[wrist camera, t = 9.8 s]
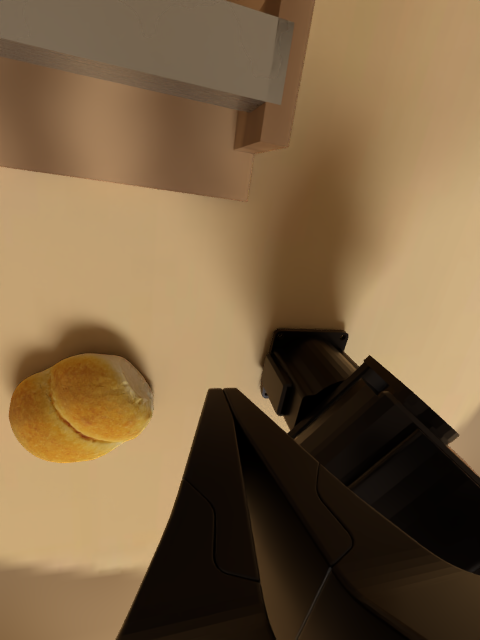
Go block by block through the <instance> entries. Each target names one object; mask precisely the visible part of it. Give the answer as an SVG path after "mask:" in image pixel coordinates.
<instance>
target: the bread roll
mask: <svg viewBox="0 0 480 640" xmlns="http://www.w3.org/2000/svg"><path fill="white" fill-rule="evenodd" d="M153 410H154V406H153V392H152V390H151V388H150V387H149V385H148V384H147V382H146V381H145V379H144V377H143V376H142V375H141V373H140V372H139V371H138V370H137V369H136V368H135V367H134V366H133V365H132V364H131V363H130V362H129V361H127V360H126V359H125V358H123V357H120V356H116V355H107V354H94V353H84V354H79V355H75V356H72V357H69V358H66V359H63V360H61V361H60V362H58V363H57V364H55V365H54V366H52V367H50V368H48V369H46V370H44V371H42V372H39V373H36V374H34V375H31V376H30V377H28V378H26V379H25V380H23V381H22V382H21V383H20V384H19V385H18V386H17V388H16V389H15V391H14V393H13V395H12V398H11V403H10V410H9V420H10V424H11V427H12V430H13V432H14V434H15V436H16V438H17V440H18V441H19V442H20V443H21V445H22V446H23V447H24V448H25V449H26V450H27V451H29V452H30V453H32V454H33V455H34V456H36V457H38V458H41V459H43V460H46V461H50V462H57V463H71V462H80V461H88V460H93V459H96V458H98V457H101V456H103V455H105V454H107V453H108V452H110V451H112V450H113V449H115V448H116V447H118V446H119V445H121V444H122V443H123V442H125V441H129V440H131V439H134V438H136V437H137V436H138V435H139V434H140V433H141V432H142V431H143V430H144V429H145V427H146V426H147V425H148V423H149V422H150V420H151V417H152V413H153Z"/></svg>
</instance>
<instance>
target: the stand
mask: <svg viewBox="0 0 480 640" xmlns="http://www.w3.org/2000/svg"><path fill="white" fill-rule="evenodd" d="M226 1H229V2H232V3H235V4H238V5H242V6H245V7H248V8H251V9H254V10H257V11H260V12H263V13H266V14H269V15H273V16H276V17H279V19H280V18H282V19H284V21H285V20H286V22H287V23H288V21H291V23H290V24H289V26H290V25H291V24H292V22H294V26H292V28H293V27H294V29H293V32H292V33H293V35H291V36H292V41H291V40H290V41H291V47H290V53H289V59H288V65H287V71H286V78H285V84H284V90H283V96H282V102H281V105H278V104H274V103H270V102H265V103H263V104H262V105H261V106H259V107H258V108H256V109H255V110H253V111H252V112H251V113H248V112H244V111H239V110H235V109H230V108H226V107H221V106H217V105H213V104H208V103H204V102H199V101H195V100H190V99H186V98H182V97H177V96H173V95H168V94H164V93H159V92H155V91H151V90H146V89H142V88H137V87H133V86H128V85H124V84H120V83H115V82H111V81H106V80H102V79H97V78H93V77H89V76H84V75H80V74H75V73H71V72H66V71H62V70H58V69H53V68H49V67H44V66H40V65H35V64H31V63H27V62H22V61H18V60H13V59H9V58H4V57H0V167H7V168H14V169H21V170H28V171H35V172H42V173H49V174H56V175H63V176H70V177H77V178H84V179H91V180H98V181H105V182H112V183H119V184H126V185H133V186H140V187H147V188H154V189H161V190H168V191H175V192H182V193H189V194H196V195H203V196H210V197H217V198H224V199H231V200H238V201H245V202H247V201H248V194H249V187H250V180H251V172H252V165H253V158H254V154H257V153H262V152H267V151H271V150H276V149H281V148H286V147H288V146H289V140H290V135H291V129H292V124H293V119H294V113H295V108H296V102H297V97H298V91H299V86H300V80H301V75H302V69H303V64H304V58H305V53H306V47H307V42H308V37H309V31H310V26H311V20H312V15H313V9H314V4H315V0H226ZM279 19H278V21H279V22H280V20H279ZM287 20H288V21H287ZM282 21H283V20H282ZM279 22H278V26H279ZM285 24H286V23H285ZM281 25H283V24H282V23H281ZM281 25H280V26H281ZM283 26H284V25H283ZM277 28H279V27H277ZM281 28H282V27H281ZM289 28H290V27H289ZM284 29H285V28H284ZM278 30H279V29H278ZM278 30H277V31H278ZM281 30H282V29H281ZM286 30H287V29H286ZM282 32H284V31H282ZM286 32H287V31H286ZM278 33H279V32H278ZM278 33H277V34H278ZM280 33H281V32H280ZM280 36H281V35H280ZM281 37H283V36H281ZM276 38H277V37H276ZM282 39H283V38H282ZM282 39H281V40H282ZM279 40H280V39H279ZM277 43H278V42H277ZM288 43H289V42H288ZM278 44H279V43H278ZM286 44H287V43H286ZM281 45H282V44H281ZM279 46H280V45H279ZM280 49H281V48H280ZM274 50H275V49H274ZM285 50H286V49H285ZM285 53H286V52H285ZM285 53H284V54H285ZM287 56H288V55H287Z"/></svg>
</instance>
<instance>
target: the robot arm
mask: <svg viewBox="0 0 480 640" xmlns="http://www.w3.org/2000/svg"><path fill="white" fill-rule="evenodd" d="M279 334H282V335H281V336H280V337H278V335H279ZM342 335H343V337H341V336H342ZM340 337H341V338H340ZM347 340H348V334H347V333H346V332H345V331H344V330H317V329H277V330H275V331H274V333H273V336H272V341H271V345H270V350H269V353H268V354H267V355H266V357H265V362H264V367H263V372H262V377H261V382H262V388H261V394H262V396H263V397H264V398H269V399H270V401H271V404H272V406H273V408H274V410H275V412H276V414H277V415H278V416H283V417H284V419H285V421H286V423H287V425H288V427H289V429H290V431H289V432H288V433H286V432H285V431H284V430H282V429H281V428H280V427H279V426H278V425H277V424H276V423H275V422H274V421H272V420H271V419H270V418H269V417H268V416H267V415H266V414H265V413H264V412H263V411H261V410H260V409H259V408H258V407H257V406H256V405H255V404H254V403H253V402H251V401H250V400H249V399H248V398H247V397H246V396H245V395H244V394H243V393H242V392H240V391H239V390H238V389H237V388H224V389H223V390H222V389H221V388H211V389H209V390H208V392H207V395H206V399H205V402H204V405H203V409H202V412H201V416H200V419H199V423H198V426H197V429H196V433H195V436H194V440H193V443H192V447H191V450H190V454H189V457H188V460H187V464H186V467H185V471H184V474H183V478H182V481H181V484H180V487H179V491H178V494H177V497H176V500H175V503H174V506H173V509H172V512H171V515H170V518H169V521H168V523H167V525H166V528H165V530H164V533H163V535H162V538H161V540H160V543H159V545H158V547H157V549H156V552H155V554H154V556H153V558H152V561H151V563H150V565H149V567H148V570H147V572H146V574H145V576H144V579H143V581H142V583H141V585H140V588H139V590H138V592H137V594H136V597H135V599H134V601H133V604H132V606H131V608H130V610H129V613H128V615H127V617H126V619H125V621H124V623H123V625H122V628H121V630H120V632H119V634H118V636H117V638H116V640H480V477H479V476H478V475H477V474H476V472H475V471H474V470H473V469H472V468H471V467H470V466H469V465H468V464H467V463H466V462H465V461H464V460H463V459H462V458H461V457H460V456H459V455H457V453H455V451H454V450H452V449H451V448H450V447H449V446H448V444H449V443H451V442H452V441H454V440H455V439H456V438H457V437H459V434H458V433H457V432H456V431H455V430H454V429H453V428H452V427H451V426H449V425H448V424H447V423H446V422H445V421H444V420H443V419H442V418H441V417H440V416H439V415H438V414H437V413H435V412H434V411H433V410H432V409H431V408H430V407H429V406H428V405H427V404H426V403H424V402H423V401H422V400H421V399H420V398H419V397H418V396H417V395H416V394H414V393H413V392H412V391H411V390H410V389H409V388H408V387H406V386H405V385H404V384H403V383H402V382H401V381H399V380H398V379H397V378H396V377H395V376H394V375H392V374H391V373H390V372H389V371H388V370H387V369H385V368H384V367H383V366H382V365H381V364H380V363H378V362H377V361H376V360H375V359H374V358H372V357H371V356H370V355H369V356H368V357H367V358H366V359H365V360H364V363H363V364H362V365H361V366H360V367H359V366H358V365H357V364H356V363H355V362H354V361H353V360H352V359H351V358H350V357H349V356H348V355H347V354H346V353H345V352H344V349H345V346H346V343H347Z"/></svg>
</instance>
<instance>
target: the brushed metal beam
mask: <svg viewBox="0 0 480 640" xmlns="http://www.w3.org/2000/svg"><path fill="white" fill-rule="evenodd" d="M278 19H279V17H276V16H273V15H269V14H266V13H263V12H260V11H257V10H254V9H251V8H248V7H245V6H242V5H238V4H235V3H232V2H229V1H226V0H0V57H4V58H9V59H13V60H18V61H22V62H27V63H31V64H35V65H40V66H44V67H49V68H53V69H58V70H62V71H66V72H71V73H75V74H80V75H84V76H89V77H93V78H97V79H102V80H106V81H111V82H115V83H120V84H124V85H128V86H133V87H137V88H142V89H146V90H151V91H155V92H159V93H164V94H168V95H173V96H177V97H182V98H186V99H190V100H195V101H199V102H204V103H208V104H213V105H217V106H221V107H226V108H230V109H235V110H239V111H244V112H248V113H251V112H252V111H253V110H255V109H256V108H258V107H259V106H261V105H262V104H263V103H265V102H270V103H274V104H278V105H281V102H282V96H283V90H284V84H285V78H286V71H287V65H288V59H289V53H290V47H291V41H292V36H291V35H293V33H292V32H293V29H294V27H293V28H292V26H294V22H292V24H291V25H290V26H289V24H290V23H291V21H288V20H287V21H288V23H287V22H286V20H285V21H284V19H282V18H280V19H279V20H280V22H279V21H278ZM282 20H283V21H282ZM278 22H279V26H278ZM281 23H282V24H283V25H284V26H283V25H281ZM285 23H286V24H285ZM280 25H281V26H280ZM277 27H279V28H277ZM281 27H282V28H281ZM289 27H290V28H289ZM284 28H285V29H284ZM278 29H279V30H278ZM281 29H282V30H281ZM286 29H287V30H286ZM277 30H278V31H277ZM282 31H284V32H282ZM286 31H287V32H286ZM278 32H279V33H278ZM280 32H281V33H280ZM277 33H278V34H277ZM280 35H281V36H283V37H281V36H280ZM276 37H277V38H276ZM282 38H283V39H282ZM279 39H280V40H279ZM281 39H282V40H281ZM290 40H291V41H290ZM277 42H278V43H279V44H278V43H277ZM288 42H289V43H288ZM286 43H287V44H286ZM281 44H282V45H281ZM279 45H280V46H279ZM280 48H281V49H280ZM274 49H275V50H274ZM285 49H286V50H285ZM285 52H286V53H285ZM284 53H285V54H284ZM287 55H288V56H287Z"/></svg>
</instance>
